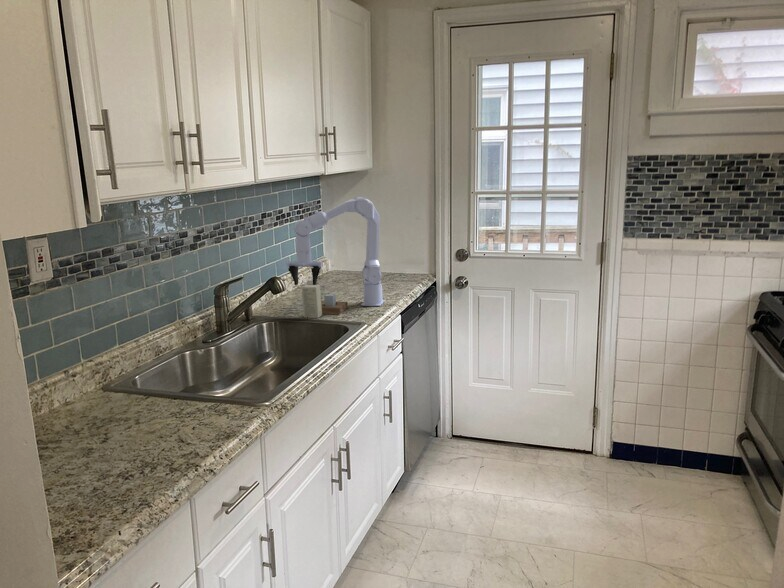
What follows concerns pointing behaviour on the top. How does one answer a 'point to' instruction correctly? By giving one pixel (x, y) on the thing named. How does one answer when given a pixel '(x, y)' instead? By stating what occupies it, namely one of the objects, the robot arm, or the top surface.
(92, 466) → the top surface
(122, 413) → the top surface
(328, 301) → the peg
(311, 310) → the skincare box
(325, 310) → the walnut socket block
